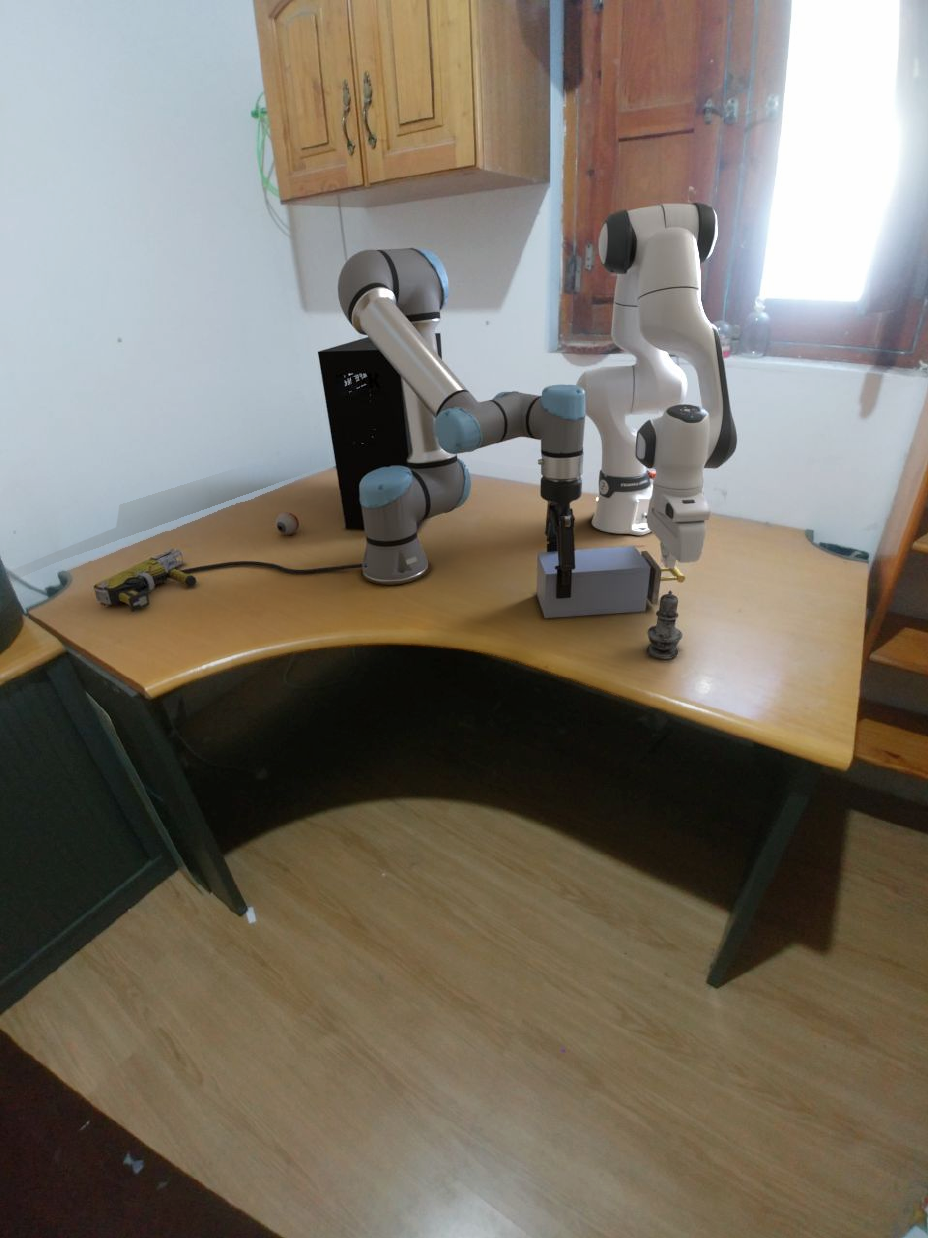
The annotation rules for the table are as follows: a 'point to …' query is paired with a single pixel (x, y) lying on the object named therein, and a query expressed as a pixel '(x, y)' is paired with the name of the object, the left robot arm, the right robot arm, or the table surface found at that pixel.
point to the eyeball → (287, 523)
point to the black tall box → (364, 417)
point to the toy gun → (141, 581)
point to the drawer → (658, 577)
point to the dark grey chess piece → (665, 629)
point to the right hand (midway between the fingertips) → (667, 565)
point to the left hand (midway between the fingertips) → (558, 584)
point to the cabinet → (595, 582)
